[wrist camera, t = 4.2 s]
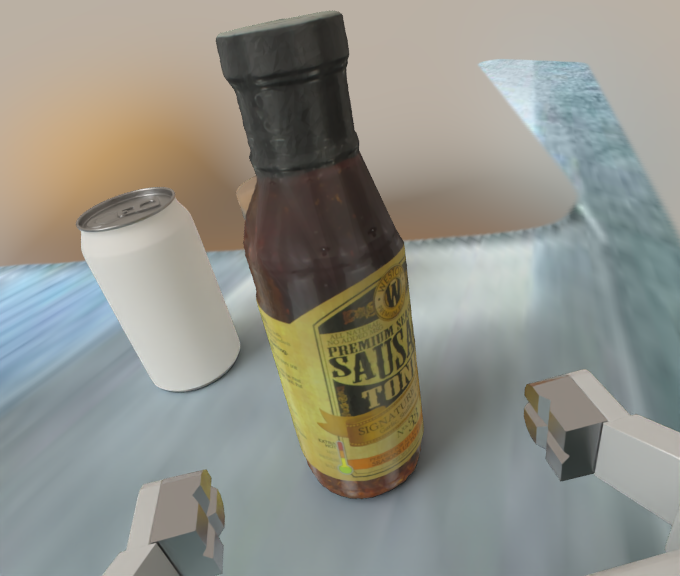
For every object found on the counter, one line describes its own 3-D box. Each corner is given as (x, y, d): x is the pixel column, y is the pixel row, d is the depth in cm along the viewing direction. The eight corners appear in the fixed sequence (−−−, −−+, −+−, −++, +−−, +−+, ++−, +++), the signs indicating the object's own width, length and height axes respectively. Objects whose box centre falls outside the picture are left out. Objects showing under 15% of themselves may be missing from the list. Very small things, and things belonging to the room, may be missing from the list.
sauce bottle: (380, 531, 21) (255, 35, 11) (283, 467, 25) (120, 55, 14) (452, 429, 25) (414, -10, 14) (358, 387, 29) (273, 14, 18)
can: (148, 355, 36) (70, 208, 29) (231, 321, 37) (174, 175, 31) (156, 410, 30) (64, 246, 24) (252, 369, 32) (189, 205, 26)
